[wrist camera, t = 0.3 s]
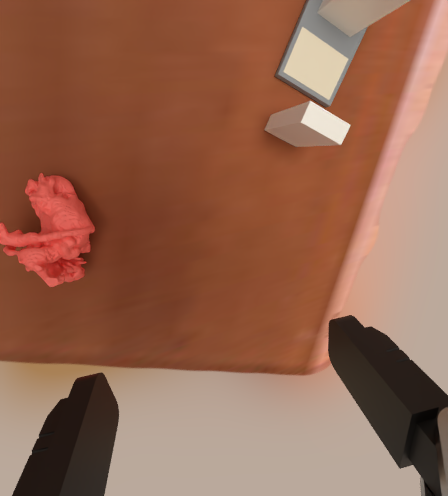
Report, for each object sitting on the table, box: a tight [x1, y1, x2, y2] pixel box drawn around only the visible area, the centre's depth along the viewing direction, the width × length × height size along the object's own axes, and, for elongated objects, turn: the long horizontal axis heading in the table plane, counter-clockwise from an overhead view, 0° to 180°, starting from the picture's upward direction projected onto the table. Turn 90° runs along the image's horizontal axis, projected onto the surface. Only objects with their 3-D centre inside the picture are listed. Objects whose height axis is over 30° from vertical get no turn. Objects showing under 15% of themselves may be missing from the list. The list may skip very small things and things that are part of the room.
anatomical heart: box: [0, 173, 95, 287], centre depth 29 cm, size 9×12×12 cm
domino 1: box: [265, 101, 351, 147], centre depth 31 cm, size 2×5×10 cm, turn 67°
